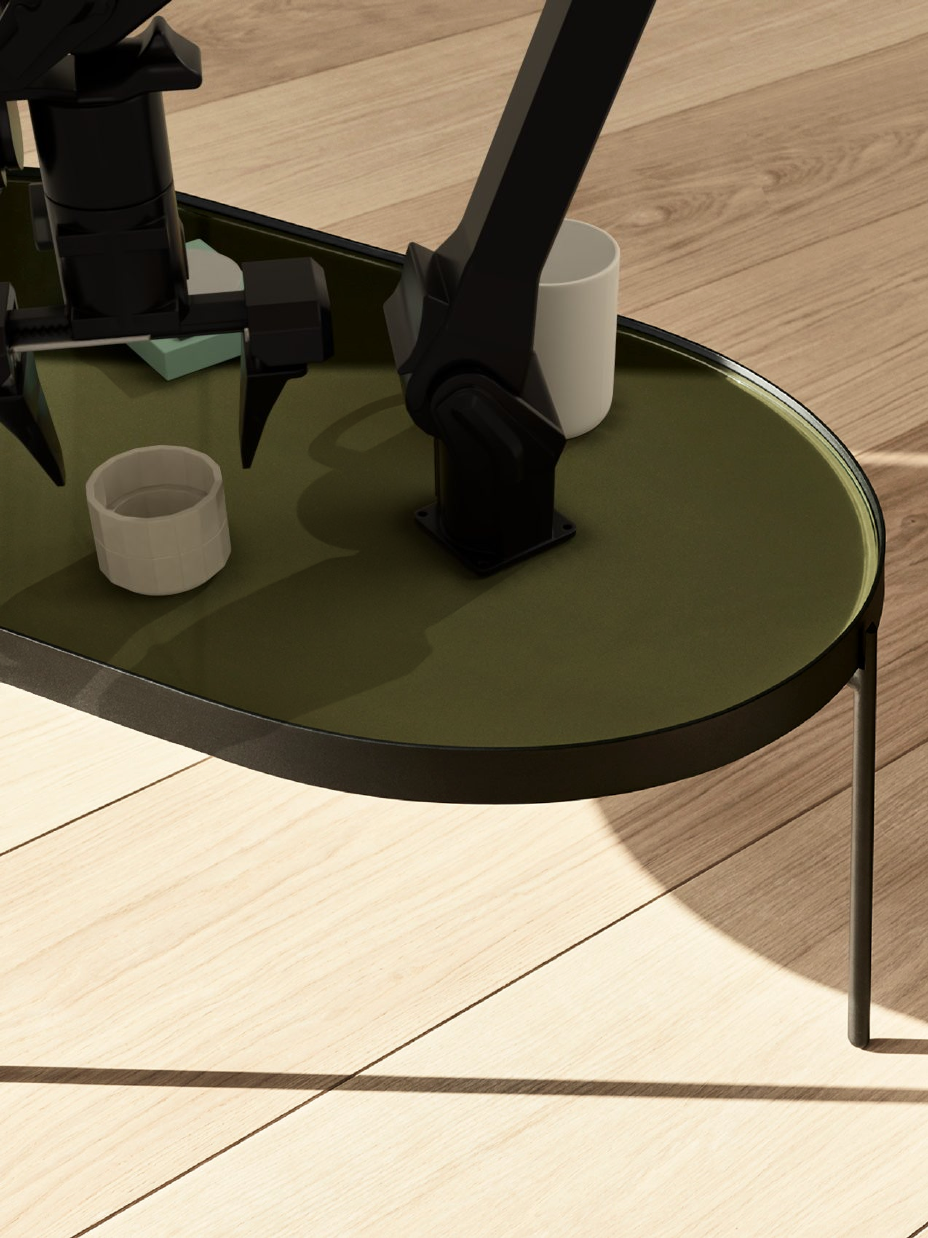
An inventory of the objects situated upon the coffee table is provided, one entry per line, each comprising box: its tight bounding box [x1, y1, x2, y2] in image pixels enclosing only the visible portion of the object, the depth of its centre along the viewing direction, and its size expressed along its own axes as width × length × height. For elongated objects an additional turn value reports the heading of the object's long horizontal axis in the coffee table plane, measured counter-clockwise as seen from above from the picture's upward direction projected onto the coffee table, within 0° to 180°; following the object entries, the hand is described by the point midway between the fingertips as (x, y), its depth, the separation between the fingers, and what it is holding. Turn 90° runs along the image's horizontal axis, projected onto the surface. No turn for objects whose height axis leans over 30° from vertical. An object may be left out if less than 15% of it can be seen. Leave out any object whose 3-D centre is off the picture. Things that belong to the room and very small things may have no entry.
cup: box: [533, 217, 621, 440], centre depth 97 cm, size 8×12×10 cm
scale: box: [125, 238, 244, 381], centre depth 107 cm, size 12×9×3 cm
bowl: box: [85, 444, 232, 597], centre depth 87 cm, size 7×7×5 cm
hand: (154, 473), depth 85 cm, fingers open, 9 cm apart
